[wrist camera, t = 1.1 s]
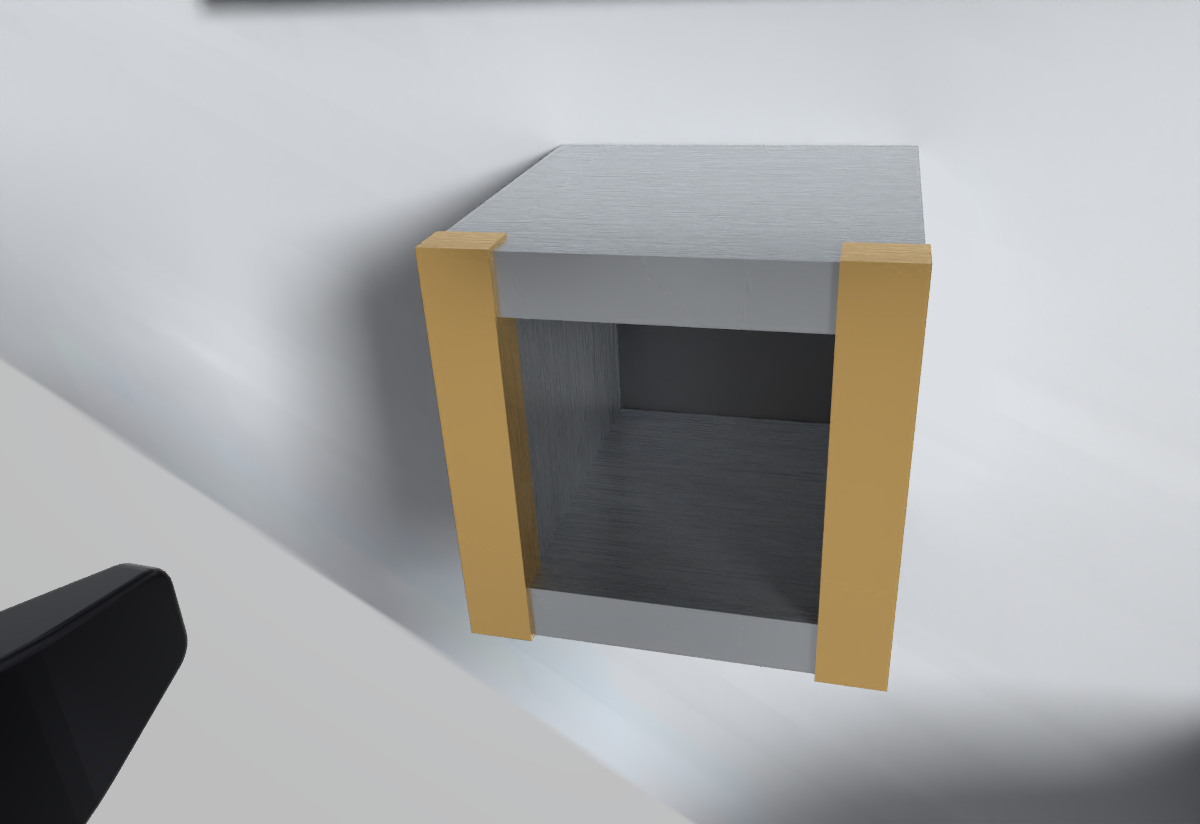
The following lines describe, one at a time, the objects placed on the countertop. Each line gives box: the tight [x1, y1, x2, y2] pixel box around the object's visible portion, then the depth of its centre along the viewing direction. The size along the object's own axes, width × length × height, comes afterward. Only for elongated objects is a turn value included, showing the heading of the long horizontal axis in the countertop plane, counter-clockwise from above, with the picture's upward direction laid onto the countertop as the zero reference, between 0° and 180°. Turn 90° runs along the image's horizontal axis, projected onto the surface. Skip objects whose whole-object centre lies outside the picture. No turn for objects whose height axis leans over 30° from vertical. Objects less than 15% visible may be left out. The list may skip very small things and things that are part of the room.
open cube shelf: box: [415, 145, 932, 691], centre depth 16 cm, size 6×6×6 cm
